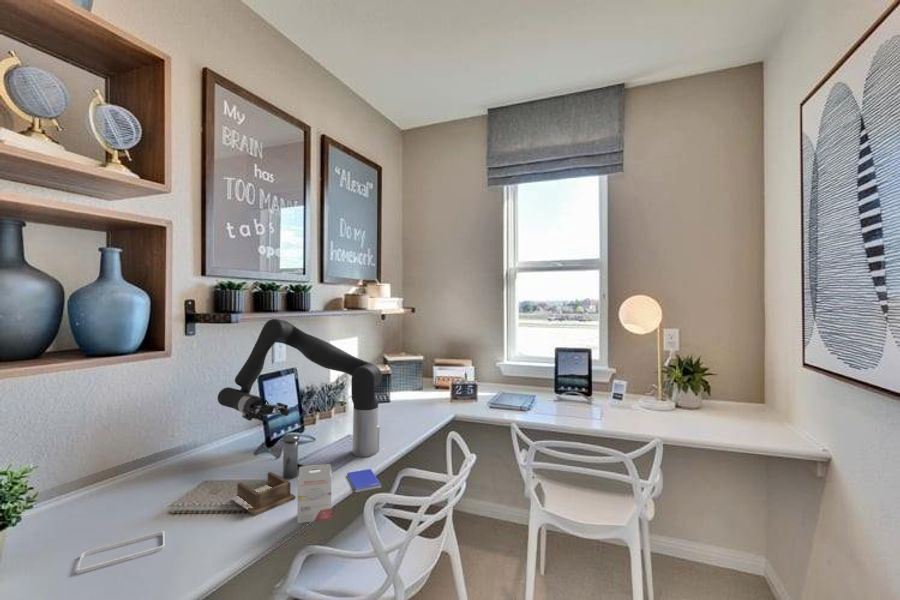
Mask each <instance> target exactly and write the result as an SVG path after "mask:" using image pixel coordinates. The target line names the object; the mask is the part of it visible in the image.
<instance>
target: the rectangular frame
mask: <svg viewBox="0 0 900 600" xmlns="http://www.w3.org/2000/svg"><path fill="white" fill-rule="evenodd" d="M159 536H162V545H160V546H156V547H153V548H150V549H147V550H143V551H139V552H136V553H132V554H129V555H125V556H122V557H118V558H114V559H111V560H108V561H103V562H101V563H96V564H93V565H90V566H86V567H82V568H80V567H81V564H82V563H81V562H82V561H83V559H84V557H86V556H89V555H92V554H97V553H101V552H104V551H108V550H111V549H115V548H116V549H117V548H119V547H122V546H127V545H130V544H134V543H137V542H141V541H144V540H148V539H153V538H155V537H159ZM165 539H166V538H165V531H164V530H163V531H158V532H154V533H149V534H146V535H143V536H138V537H134V538H131V539H127V540H124V541H119V542H116V543H113V544H109V545H104V546H100V547H97V548H93V549H89V550H87V551H84V552H82V553H81V554H80V557H79V561H78V564H77V568H76V574H77V575H80V574H79V573H81V574H83V572H85V573H87V572H86V571H88V572H90V571H89V570H92V571H94V569H95V570H98V569H97V568H99V569H101V568H100V567H102V568H104V567H103V566H106V567H108V566H107V565H109V566H112V565H111V564H113V565H116V564H119V562H120V563H123V562H126V561H129V560H132V558H134V557H137V556H140V555H143V554H147V553H151V552H154V553H157V551H158V552H160V551H164V549H165V545H166V544H165V543H166V541H165ZM115 563H116V564H115Z"/></svg>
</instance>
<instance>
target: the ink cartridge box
mask: <svg viewBox="0 0 900 600" xmlns="http://www.w3.org/2000/svg"><path fill="white" fill-rule="evenodd" d="M331 466H332V465H331V463H327V464H314V465H306V466H304V465H303V466H299V467H298V476H297V521H296V522H297V524H304V523H311V522H319V521H326V520H331V519H332V479H333V478H332V467H331Z"/></svg>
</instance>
